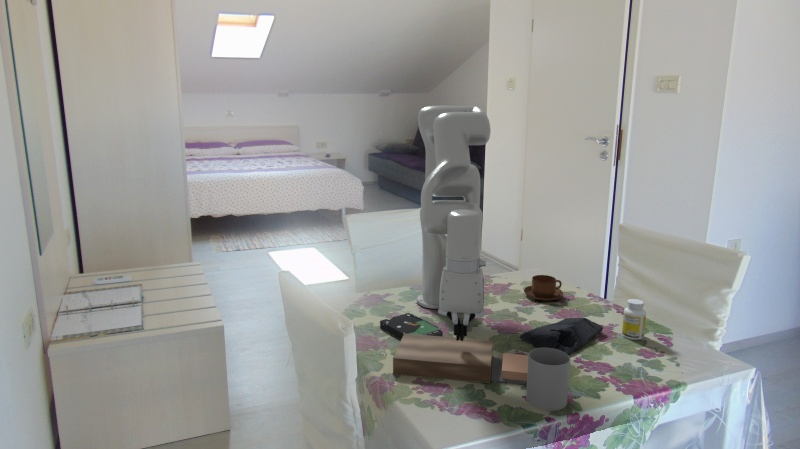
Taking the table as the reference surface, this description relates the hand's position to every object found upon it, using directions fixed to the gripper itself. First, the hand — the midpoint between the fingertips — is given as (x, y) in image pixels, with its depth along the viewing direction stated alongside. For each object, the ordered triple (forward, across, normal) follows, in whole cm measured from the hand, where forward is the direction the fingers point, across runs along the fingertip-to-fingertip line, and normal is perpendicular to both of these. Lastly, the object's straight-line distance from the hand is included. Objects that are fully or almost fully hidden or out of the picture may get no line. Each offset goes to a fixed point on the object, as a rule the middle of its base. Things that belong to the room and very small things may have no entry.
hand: (460, 338), depth 137 cm
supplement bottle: (+7, -44, -25) cm, 51 cm away
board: (+7, +4, +1) cm, 8 cm away
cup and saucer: (+8, -22, -51) cm, 56 cm away
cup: (+6, -20, +13) cm, 24 cm away
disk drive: (+8, +14, -16) cm, 23 cm away
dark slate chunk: (+8, -26, -21) cm, 34 cm away
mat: (+7, -14, +2) cm, 15 cm away
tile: (+4, -13, +1) cm, 14 cm away
